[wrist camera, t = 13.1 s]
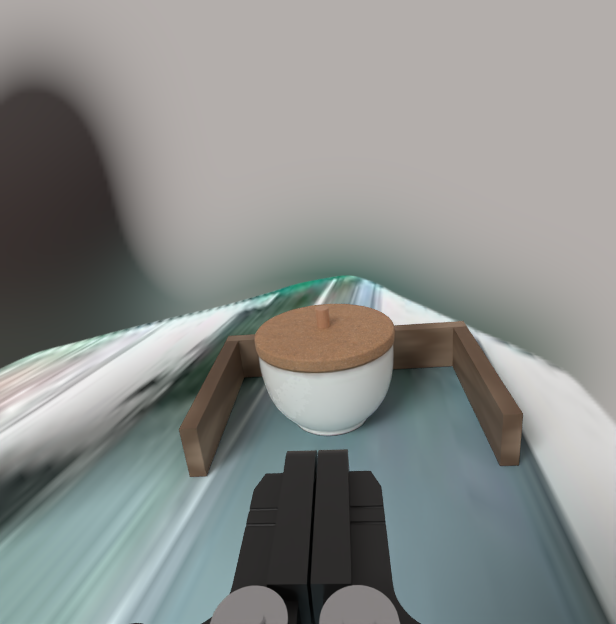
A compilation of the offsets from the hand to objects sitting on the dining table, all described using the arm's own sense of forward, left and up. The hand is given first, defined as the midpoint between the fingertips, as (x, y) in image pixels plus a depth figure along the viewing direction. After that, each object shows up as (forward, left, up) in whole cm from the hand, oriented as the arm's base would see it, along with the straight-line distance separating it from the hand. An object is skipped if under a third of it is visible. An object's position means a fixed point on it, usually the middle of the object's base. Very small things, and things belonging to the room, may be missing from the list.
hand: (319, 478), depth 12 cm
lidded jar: (-1, +24, -14) cm, 27 cm away
